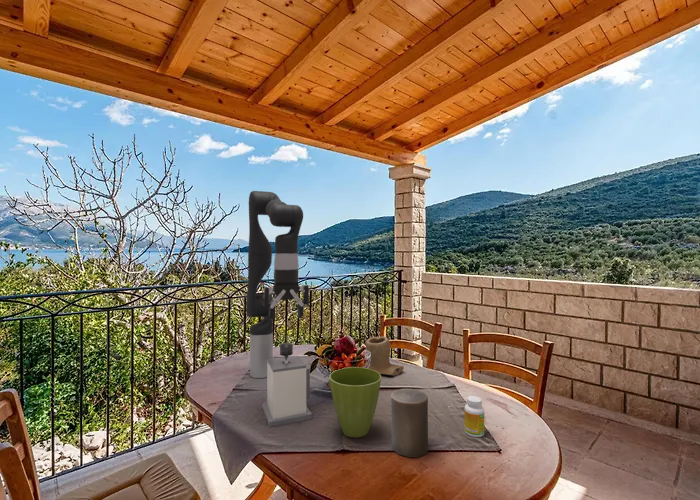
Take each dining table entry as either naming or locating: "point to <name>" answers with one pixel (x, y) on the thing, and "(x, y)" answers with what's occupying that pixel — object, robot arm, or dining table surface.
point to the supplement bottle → (474, 417)
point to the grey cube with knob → (287, 391)
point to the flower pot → (355, 398)
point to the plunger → (286, 351)
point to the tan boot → (381, 356)
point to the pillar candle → (409, 422)
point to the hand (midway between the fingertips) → (286, 318)
